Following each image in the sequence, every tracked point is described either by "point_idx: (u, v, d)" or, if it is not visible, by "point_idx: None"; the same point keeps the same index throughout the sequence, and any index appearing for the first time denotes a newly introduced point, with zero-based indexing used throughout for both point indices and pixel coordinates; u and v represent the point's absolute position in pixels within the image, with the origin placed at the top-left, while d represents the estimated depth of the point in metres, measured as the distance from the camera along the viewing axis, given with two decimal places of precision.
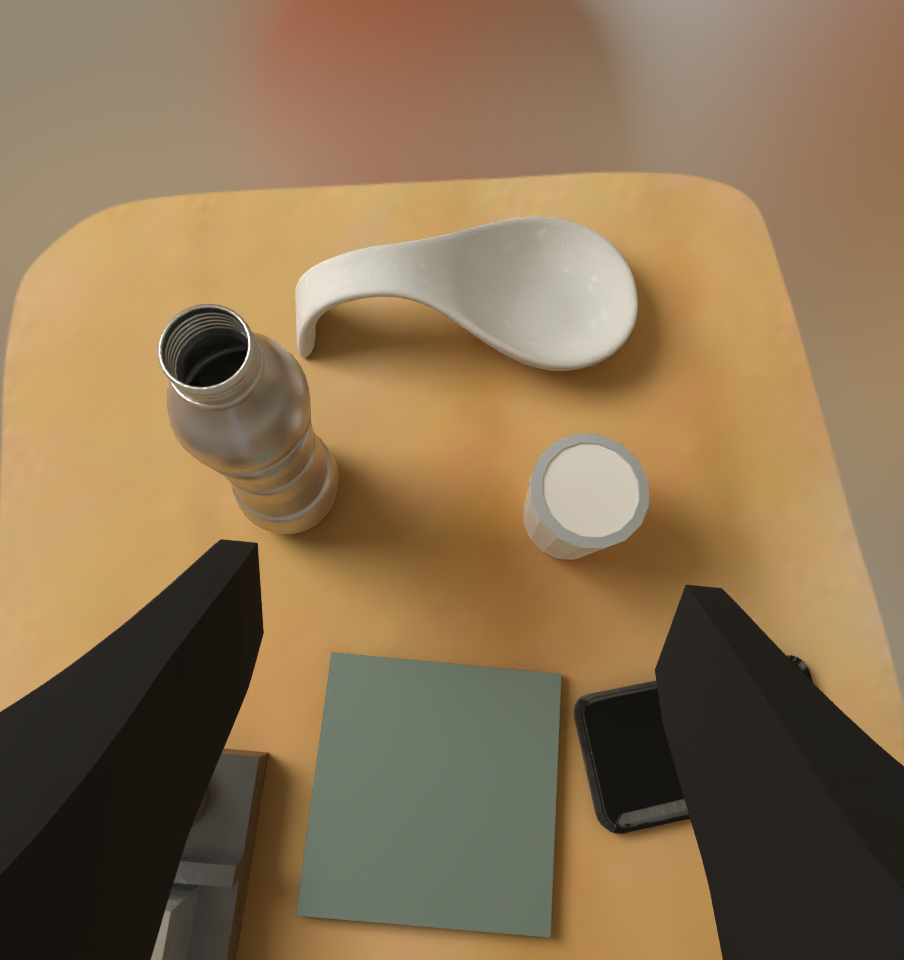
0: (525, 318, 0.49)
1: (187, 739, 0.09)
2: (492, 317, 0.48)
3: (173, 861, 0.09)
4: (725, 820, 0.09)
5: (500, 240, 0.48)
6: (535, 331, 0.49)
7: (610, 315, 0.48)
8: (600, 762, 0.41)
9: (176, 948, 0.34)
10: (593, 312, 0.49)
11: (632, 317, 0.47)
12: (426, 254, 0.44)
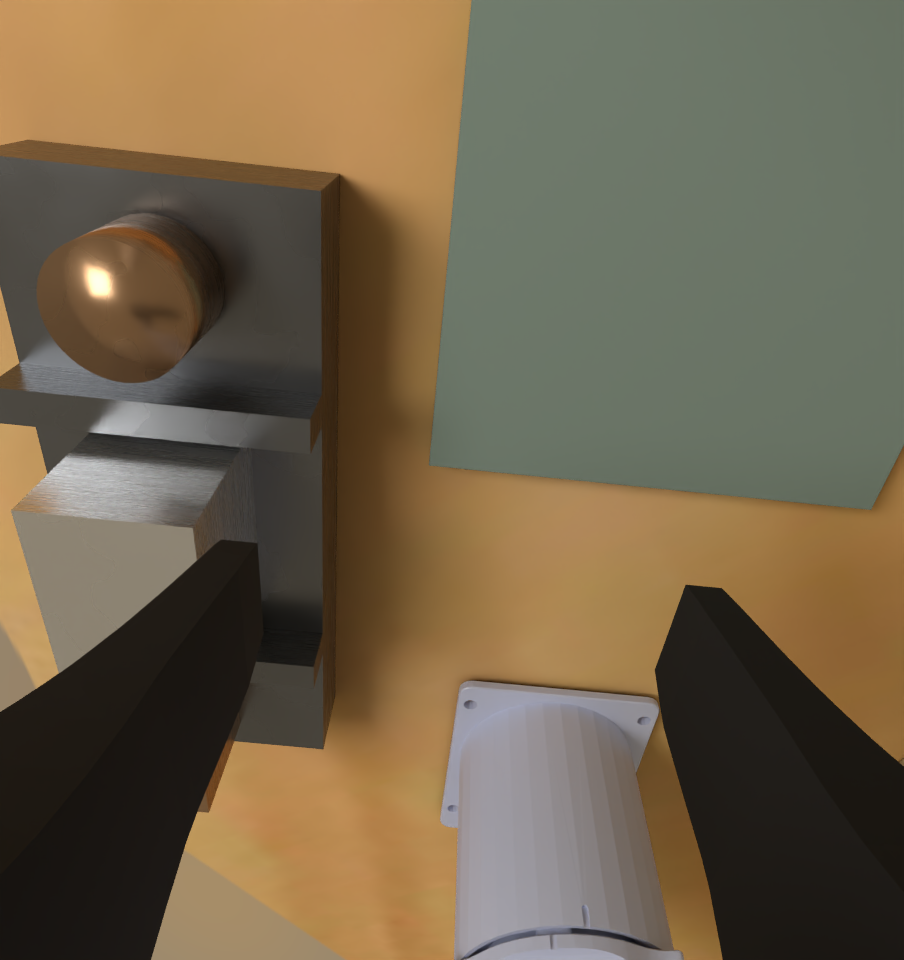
0: None
1: (188, 740, 0.09)
2: None
3: (173, 861, 0.09)
4: (726, 819, 0.09)
5: None
6: None
7: None
8: None
9: None
10: None
11: None
12: None
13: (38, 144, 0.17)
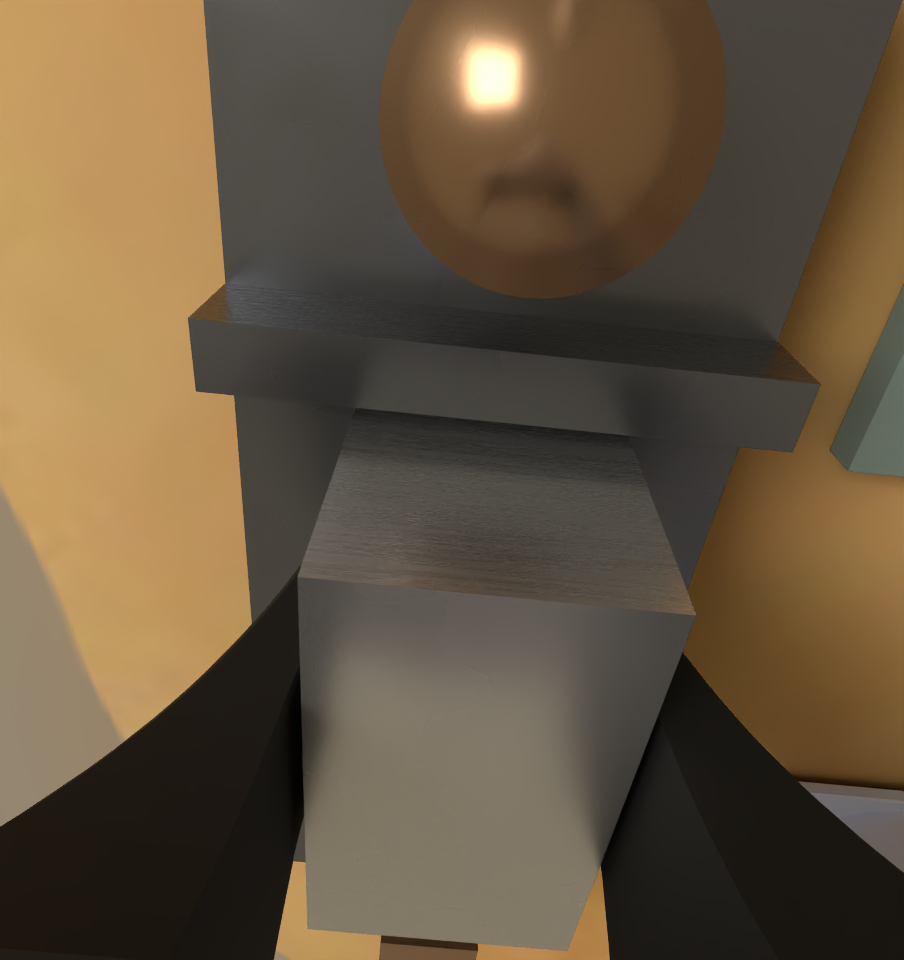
0: None
1: None
2: None
3: (287, 871, 0.09)
4: None
5: None
6: None
7: None
8: None
9: None
10: None
11: None
12: None
13: None
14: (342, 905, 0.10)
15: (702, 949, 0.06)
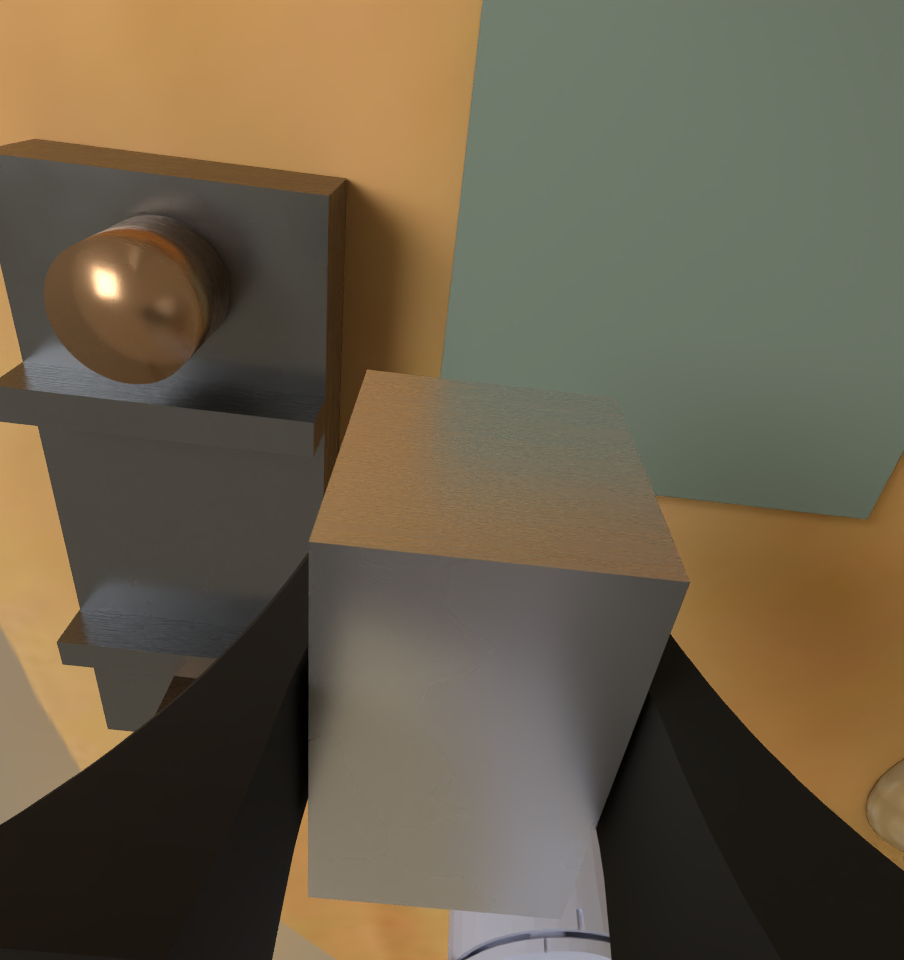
0: None
1: (300, 750, 0.09)
2: None
3: (286, 871, 0.09)
4: (617, 810, 0.09)
5: None
6: None
7: None
8: None
9: None
10: None
11: None
12: None
13: (45, 143, 0.17)
14: (342, 873, 0.10)
15: (704, 949, 0.06)
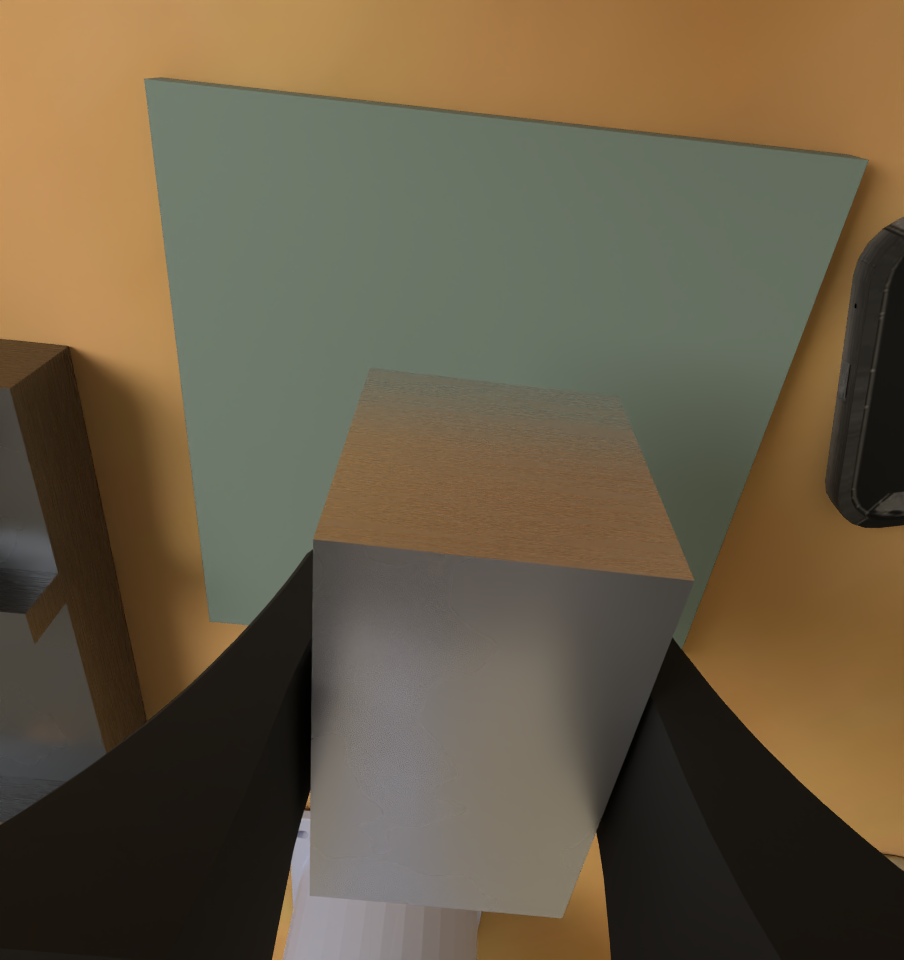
0: None
1: (300, 750, 0.09)
2: None
3: (285, 871, 0.09)
4: (617, 810, 0.09)
5: None
6: None
7: None
8: (887, 391, 0.16)
9: None
10: None
11: None
12: None
13: None
14: (344, 872, 0.10)
15: (704, 949, 0.06)
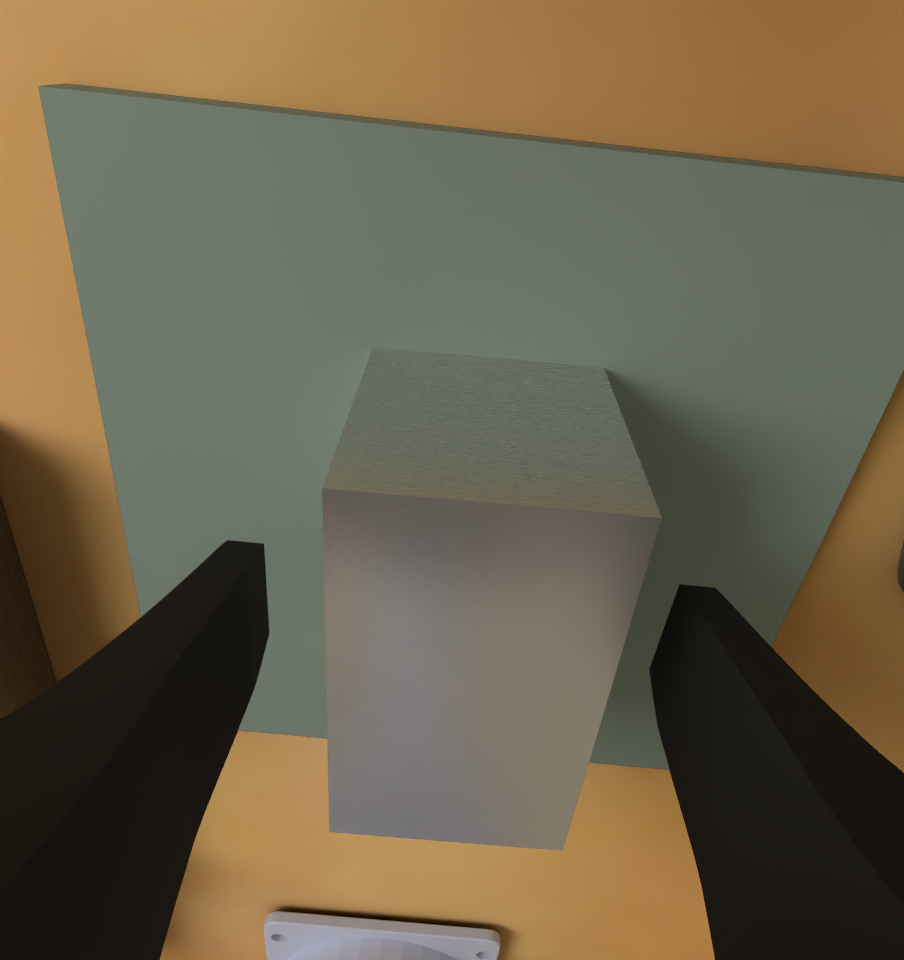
0: None
1: (195, 740, 0.09)
2: None
3: (181, 862, 0.09)
4: (718, 819, 0.09)
5: None
6: None
7: None
8: None
9: None
10: None
11: None
12: None
13: None
14: (360, 807, 0.11)
15: None
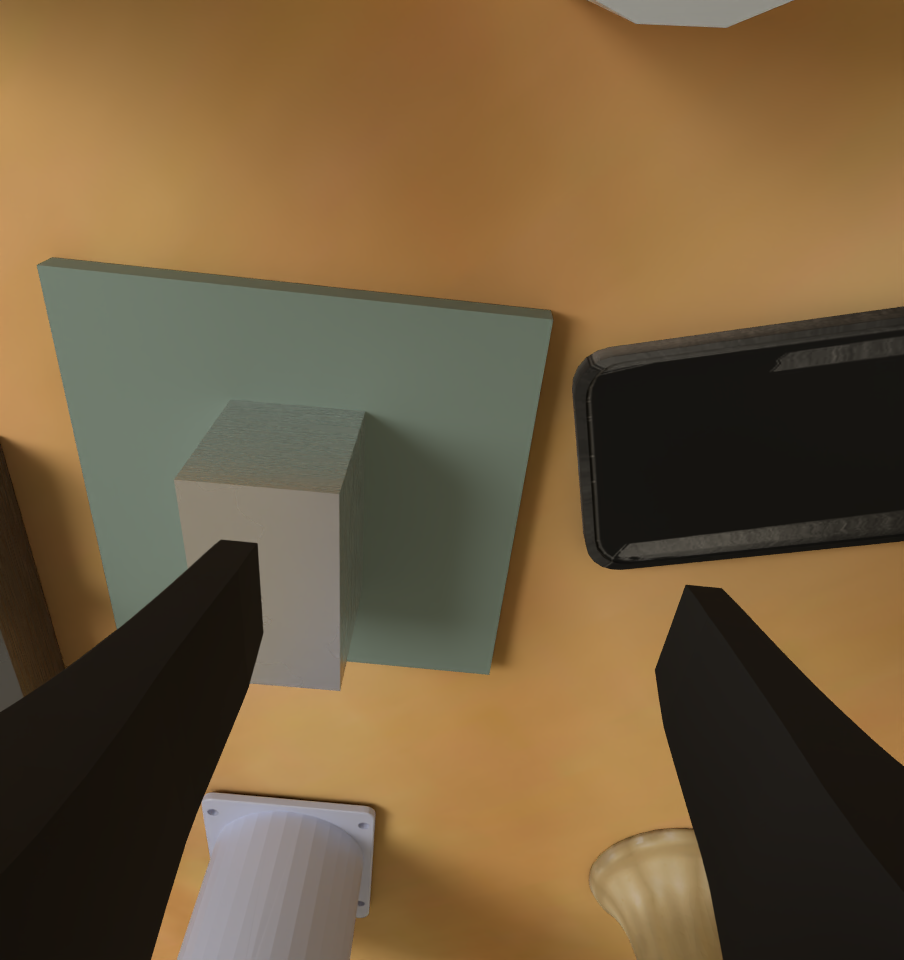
0: None
1: (188, 739, 0.09)
2: None
3: (173, 861, 0.09)
4: (726, 820, 0.09)
5: None
6: None
7: None
8: (606, 470, 0.22)
9: (352, 516, 0.20)
10: None
11: None
12: None
13: None
14: None
15: None
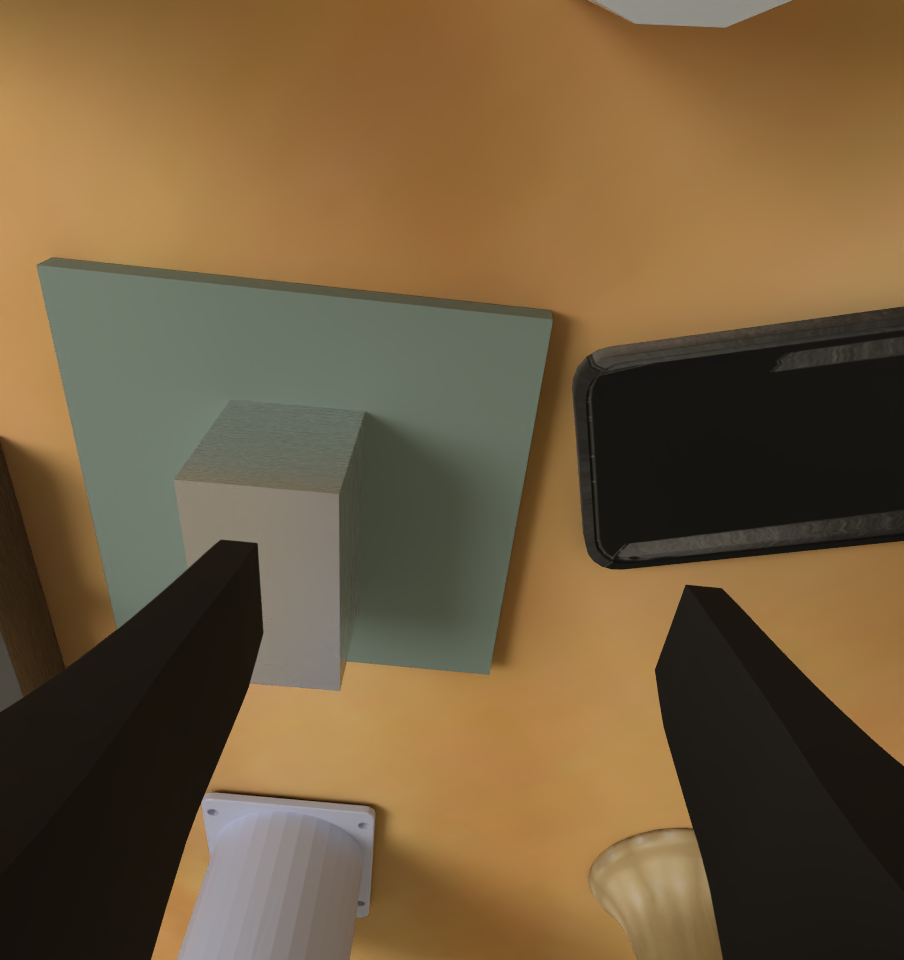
0: None
1: (187, 739, 0.09)
2: None
3: (173, 861, 0.09)
4: (726, 820, 0.09)
5: None
6: None
7: None
8: (607, 470, 0.22)
9: (352, 516, 0.20)
10: None
11: None
12: None
13: None
14: None
15: None
